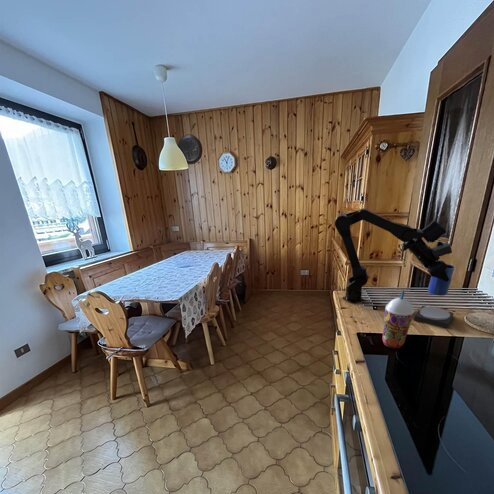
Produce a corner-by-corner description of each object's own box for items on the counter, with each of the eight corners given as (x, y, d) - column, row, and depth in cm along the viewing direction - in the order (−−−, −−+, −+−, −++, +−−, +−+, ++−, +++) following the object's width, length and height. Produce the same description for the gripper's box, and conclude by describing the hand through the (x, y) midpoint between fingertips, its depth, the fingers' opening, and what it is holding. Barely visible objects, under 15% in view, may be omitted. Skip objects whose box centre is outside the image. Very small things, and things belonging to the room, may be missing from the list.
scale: (413, 320, 111) (415, 313, 110) (421, 310, 118) (422, 304, 117) (446, 328, 104) (448, 321, 103) (452, 317, 112) (454, 310, 110)
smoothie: (379, 348, 96) (389, 294, 86) (379, 336, 102) (388, 284, 93) (407, 352, 93) (420, 297, 84) (404, 339, 99) (417, 286, 90)
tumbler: (423, 291, 121) (430, 265, 116) (434, 288, 124) (441, 262, 118) (439, 296, 116) (447, 270, 110) (450, 293, 118) (458, 266, 113)
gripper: (448, 242, 102) (475, 272, 104) (434, 231, 118) (457, 258, 120) (419, 262, 108) (444, 290, 110) (409, 250, 124) (431, 275, 126)
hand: (445, 277), depth 116 cm, fingers closed on tumbler, 7 cm apart
